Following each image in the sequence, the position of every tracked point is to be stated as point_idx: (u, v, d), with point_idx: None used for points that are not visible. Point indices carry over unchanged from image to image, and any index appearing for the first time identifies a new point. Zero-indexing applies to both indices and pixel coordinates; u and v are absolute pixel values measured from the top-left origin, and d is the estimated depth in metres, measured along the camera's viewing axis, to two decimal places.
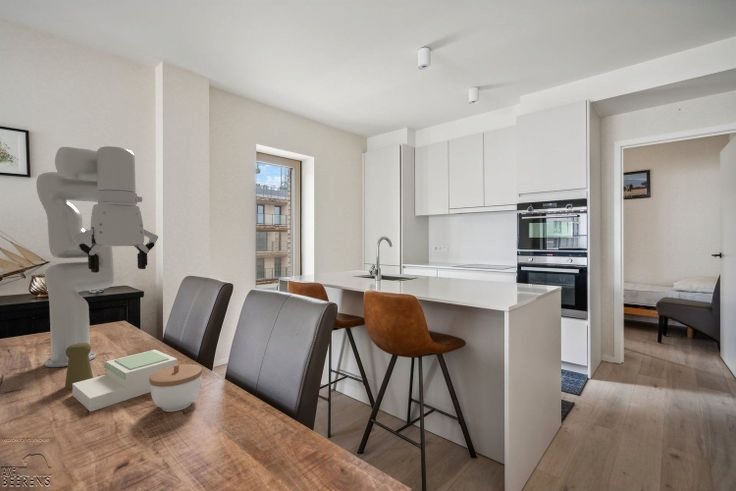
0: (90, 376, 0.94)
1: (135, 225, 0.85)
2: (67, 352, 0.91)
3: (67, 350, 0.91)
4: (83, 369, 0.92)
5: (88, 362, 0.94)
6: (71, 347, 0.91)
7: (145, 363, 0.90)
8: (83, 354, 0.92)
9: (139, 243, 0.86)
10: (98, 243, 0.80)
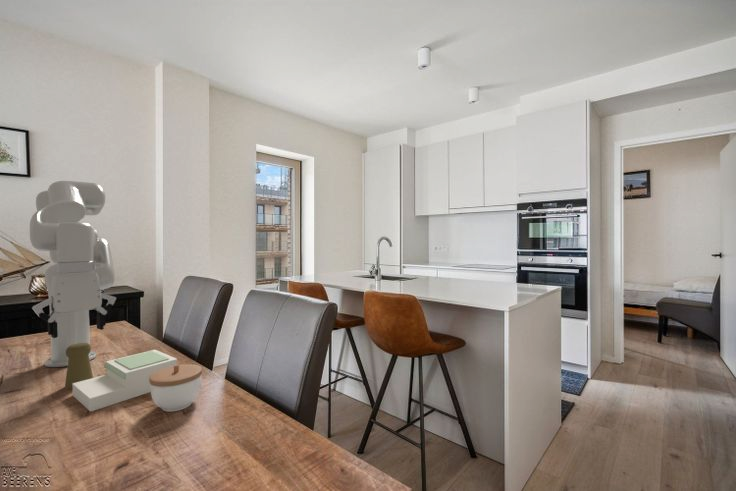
0: (90, 376, 0.94)
1: (93, 291, 0.94)
2: (67, 352, 0.91)
3: (67, 350, 0.91)
4: (83, 369, 0.92)
5: (88, 362, 0.94)
6: (71, 347, 0.91)
7: (145, 363, 0.90)
8: (83, 354, 0.92)
9: (97, 306, 0.95)
10: (56, 311, 0.88)
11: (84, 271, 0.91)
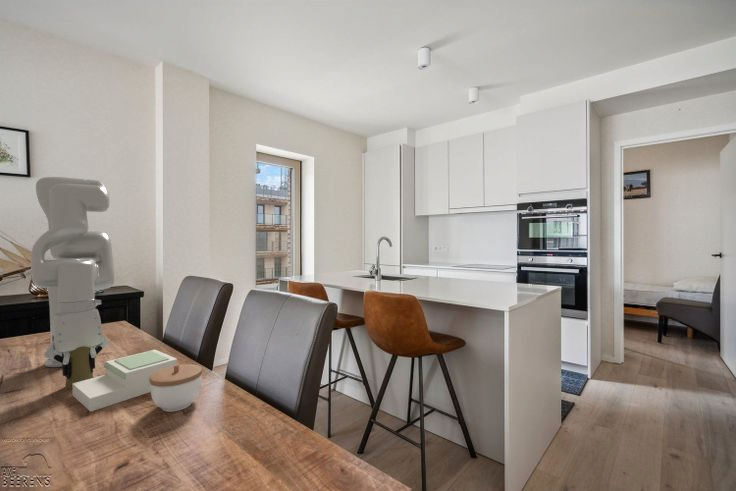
0: (90, 376, 0.94)
1: (93, 328, 0.94)
2: None
3: None
4: (84, 369, 0.92)
5: (88, 362, 0.94)
6: None
7: (145, 363, 0.90)
8: (84, 354, 0.92)
9: (98, 344, 0.95)
10: (58, 351, 0.89)
11: (85, 310, 0.92)
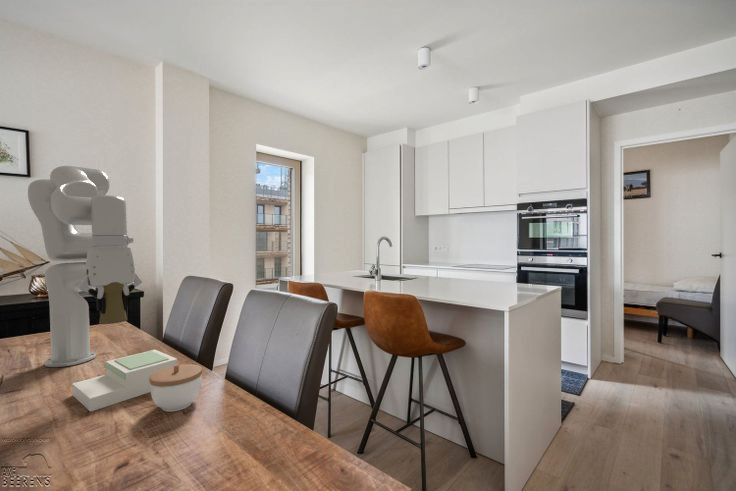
0: (124, 313, 0.93)
1: (126, 265, 0.93)
2: None
3: None
4: (117, 305, 0.91)
5: None
6: None
7: (145, 363, 0.90)
8: (117, 290, 0.91)
9: (130, 281, 0.94)
10: (92, 284, 0.88)
11: (118, 245, 0.91)
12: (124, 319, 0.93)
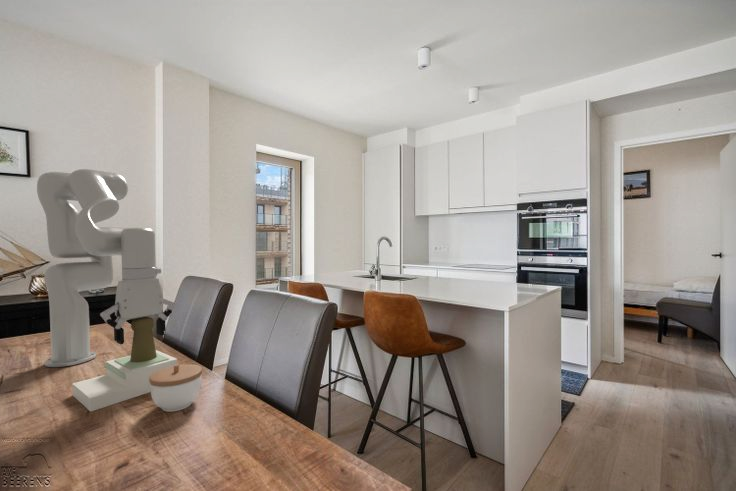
0: (154, 350, 0.94)
1: (155, 297, 0.93)
2: (133, 325, 0.91)
3: (133, 323, 0.91)
4: (149, 343, 0.92)
5: (152, 336, 0.94)
6: (137, 320, 0.91)
7: (145, 363, 0.90)
8: (148, 327, 0.92)
9: (159, 312, 0.95)
10: (123, 317, 0.88)
11: (148, 277, 0.91)
12: (154, 356, 0.94)
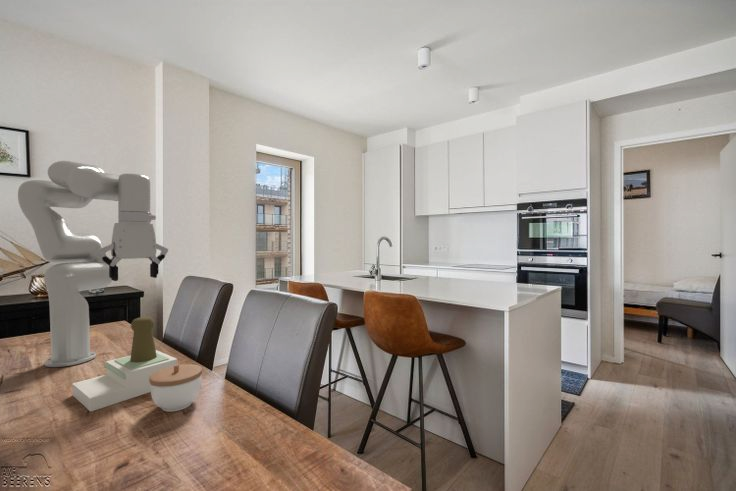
0: (154, 350, 0.94)
1: (149, 240, 1.00)
2: (133, 325, 0.91)
3: (133, 323, 0.91)
4: (149, 343, 0.92)
5: (152, 336, 0.94)
6: (137, 320, 0.91)
7: (145, 363, 0.90)
8: (148, 327, 0.92)
9: (152, 255, 1.01)
10: (118, 256, 0.94)
11: (143, 221, 0.97)
12: (154, 356, 0.94)
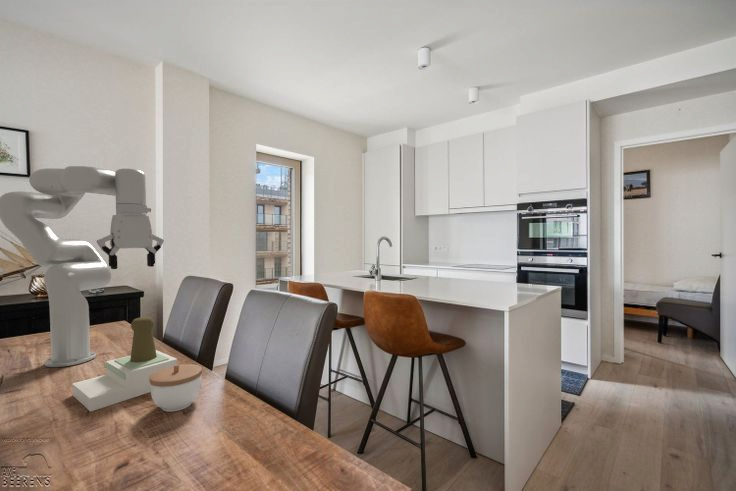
0: (154, 350, 0.94)
1: (145, 231, 1.06)
2: (133, 325, 0.91)
3: (133, 323, 0.91)
4: (149, 343, 0.92)
5: (152, 336, 0.94)
6: (137, 320, 0.91)
7: (145, 363, 0.90)
8: (148, 327, 0.92)
9: (148, 245, 1.07)
10: (117, 246, 1.00)
11: (139, 212, 1.03)
12: (154, 356, 0.94)
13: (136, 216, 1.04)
